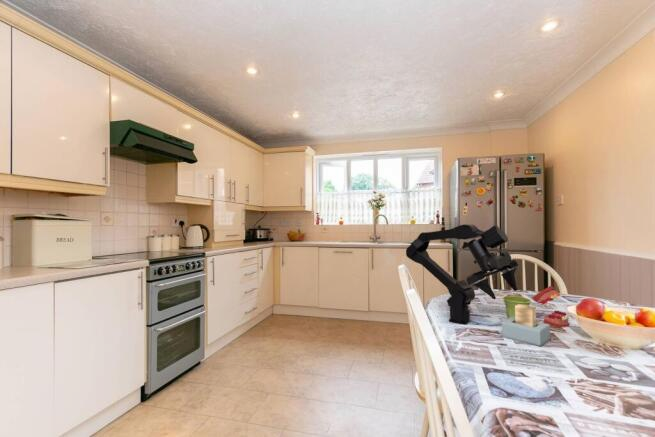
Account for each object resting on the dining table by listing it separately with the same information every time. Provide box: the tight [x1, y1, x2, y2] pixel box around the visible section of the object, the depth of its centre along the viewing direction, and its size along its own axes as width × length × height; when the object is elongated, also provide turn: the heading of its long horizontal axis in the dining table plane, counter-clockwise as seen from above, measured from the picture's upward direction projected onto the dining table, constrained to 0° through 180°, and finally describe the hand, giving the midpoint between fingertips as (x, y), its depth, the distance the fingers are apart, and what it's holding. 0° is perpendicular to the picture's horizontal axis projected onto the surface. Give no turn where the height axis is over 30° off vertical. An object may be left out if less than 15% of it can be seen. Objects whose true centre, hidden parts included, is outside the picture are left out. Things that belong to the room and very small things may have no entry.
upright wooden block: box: [515, 304, 537, 327], centre depth 100 cm, size 5×3×10 cm, turn 37°
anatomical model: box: [531, 285, 570, 328], centre depth 115 cm, size 10×8×15 cm
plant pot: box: [502, 295, 532, 319], centre depth 117 cm, size 9×9×9 cm
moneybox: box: [501, 317, 551, 348], centre depth 100 cm, size 11×9×5 cm
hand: (505, 294), depth 105 cm, fingers open, 9 cm apart
